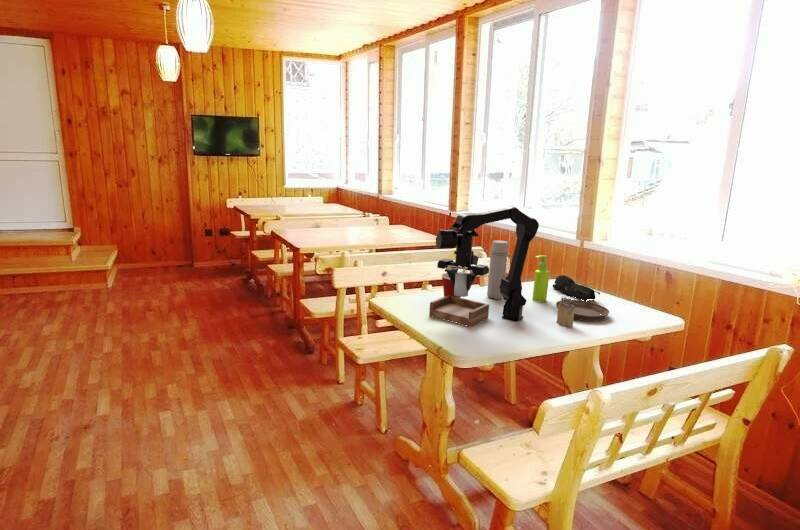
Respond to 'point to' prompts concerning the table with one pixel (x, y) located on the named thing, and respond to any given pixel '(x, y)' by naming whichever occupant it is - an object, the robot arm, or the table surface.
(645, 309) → the table surface
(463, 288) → the grey rounded cone
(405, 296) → the table surface
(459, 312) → the wooden tray
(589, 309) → the plant saucer
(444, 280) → the plastic cup
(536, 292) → the soap dispenser
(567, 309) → the tan upright block
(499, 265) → the water bottle
